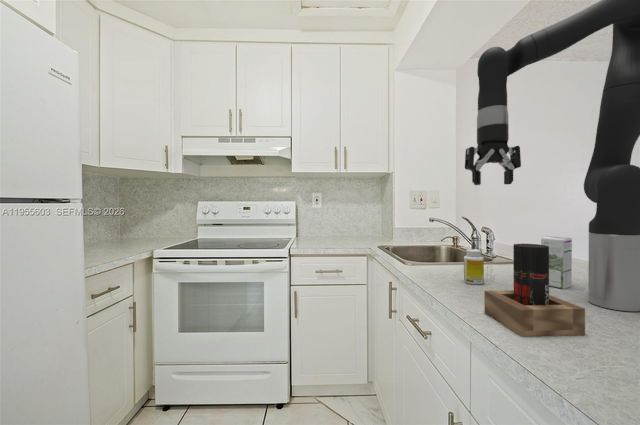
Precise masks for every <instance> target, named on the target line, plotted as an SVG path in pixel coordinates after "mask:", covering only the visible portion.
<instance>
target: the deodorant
mask: <svg viewBox="0 0 640 425" xmlns="http://www.w3.org/2000/svg"><path fill="white" fill-rule="evenodd" d="M513 290H514V301H516V302H518V303H521V304H523V305H549V295H550V286H549V246H546V245H541V244H536V243H514V244H513Z"/></svg>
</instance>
